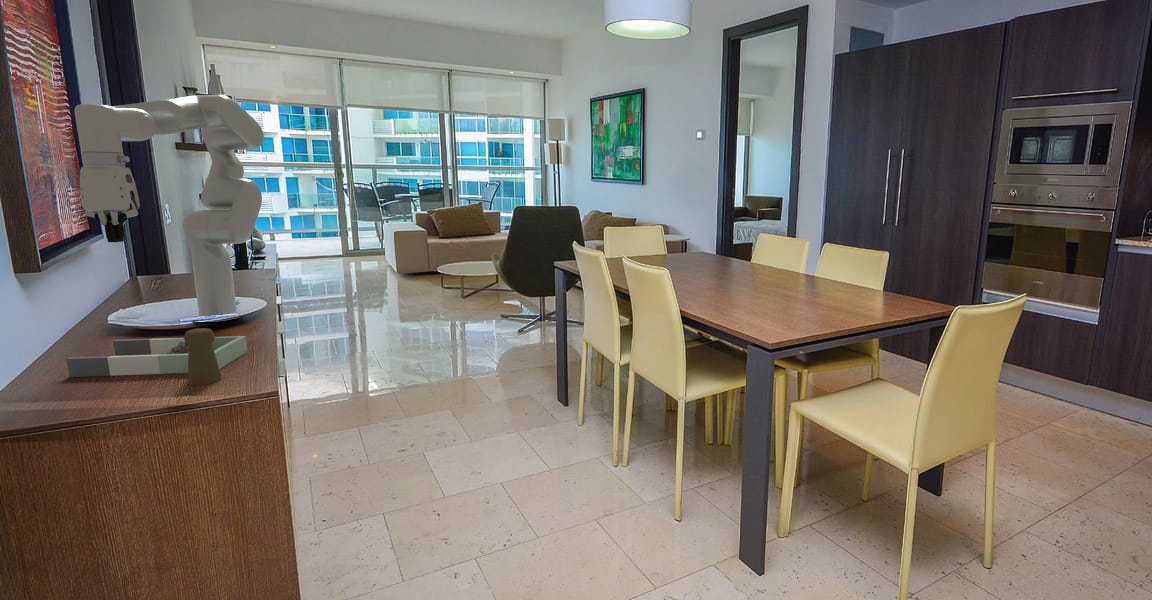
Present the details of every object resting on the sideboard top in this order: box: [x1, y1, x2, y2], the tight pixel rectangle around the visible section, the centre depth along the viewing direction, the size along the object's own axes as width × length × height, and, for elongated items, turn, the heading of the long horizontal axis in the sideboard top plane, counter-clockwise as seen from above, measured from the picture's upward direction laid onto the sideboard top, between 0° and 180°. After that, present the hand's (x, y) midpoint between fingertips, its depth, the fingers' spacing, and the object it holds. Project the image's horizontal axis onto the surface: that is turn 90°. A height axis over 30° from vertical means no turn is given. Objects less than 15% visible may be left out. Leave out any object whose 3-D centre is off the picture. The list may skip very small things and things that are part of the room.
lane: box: [66, 335, 248, 378], centre depth 133 cm, size 16×29×4 cm, turn 96°
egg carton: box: [162, 342, 189, 354], centre depth 132 cm, size 11×8×4 cm
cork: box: [183, 327, 223, 386], centre depth 120 cm, size 6×6×11 cm
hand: (116, 241), depth 136 cm, fingers closed
